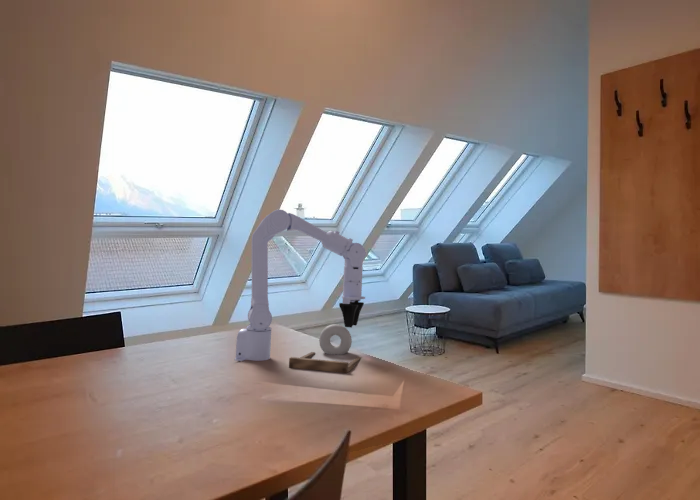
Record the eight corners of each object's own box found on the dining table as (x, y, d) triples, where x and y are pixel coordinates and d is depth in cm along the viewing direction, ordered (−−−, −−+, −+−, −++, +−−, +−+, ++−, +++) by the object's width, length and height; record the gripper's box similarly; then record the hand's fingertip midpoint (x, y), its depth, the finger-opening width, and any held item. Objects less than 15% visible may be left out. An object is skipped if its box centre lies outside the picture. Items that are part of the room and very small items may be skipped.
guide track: (288, 367, 127) (289, 357, 127) (311, 356, 145) (311, 347, 145) (346, 373, 123) (346, 363, 123) (362, 360, 141) (362, 352, 141)
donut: (351, 357, 146) (353, 324, 146) (350, 359, 142) (351, 325, 143) (319, 355, 147) (320, 322, 147) (317, 357, 143) (319, 323, 144)
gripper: (359, 282, 139) (357, 329, 138) (370, 282, 153) (368, 324, 152) (336, 281, 140) (334, 328, 140) (349, 281, 154) (347, 323, 154)
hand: (350, 326), depth 146 cm, fingers open, 5 cm apart
